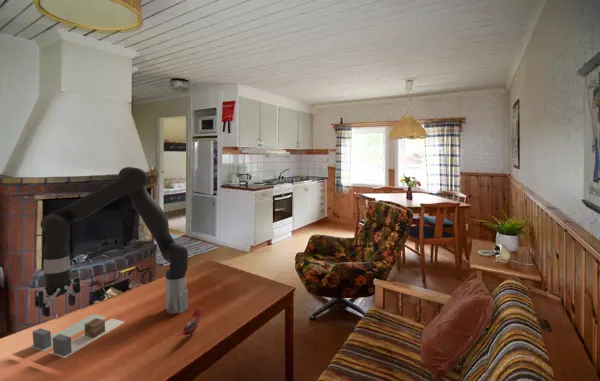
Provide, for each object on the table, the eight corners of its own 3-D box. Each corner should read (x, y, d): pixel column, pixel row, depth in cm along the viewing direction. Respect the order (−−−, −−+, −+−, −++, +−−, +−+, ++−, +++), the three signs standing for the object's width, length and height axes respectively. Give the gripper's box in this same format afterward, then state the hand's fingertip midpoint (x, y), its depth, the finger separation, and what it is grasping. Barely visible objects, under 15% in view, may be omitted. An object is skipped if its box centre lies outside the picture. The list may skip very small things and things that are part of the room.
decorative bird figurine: (203, 327, 135) (203, 306, 134) (179, 351, 118) (179, 327, 117) (198, 326, 136) (198, 305, 135) (173, 350, 119) (172, 326, 117)
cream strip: (125, 323, 135) (124, 309, 134) (64, 360, 111) (63, 342, 110) (111, 320, 138) (111, 306, 137) (49, 355, 113) (48, 338, 112)
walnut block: (105, 331, 127) (104, 320, 127) (93, 338, 123) (93, 326, 122) (96, 329, 129) (95, 318, 128) (85, 335, 124) (84, 324, 124)
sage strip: (106, 319, 138) (106, 304, 138) (44, 353, 114) (42, 336, 113) (93, 315, 141) (93, 301, 140) (29, 349, 116) (28, 332, 115)
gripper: (42, 277, 102) (45, 322, 104) (84, 263, 116) (85, 303, 117) (27, 274, 104) (30, 318, 106) (70, 261, 118) (72, 300, 120)
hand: (59, 310), depth 112 cm, fingers open, 8 cm apart
